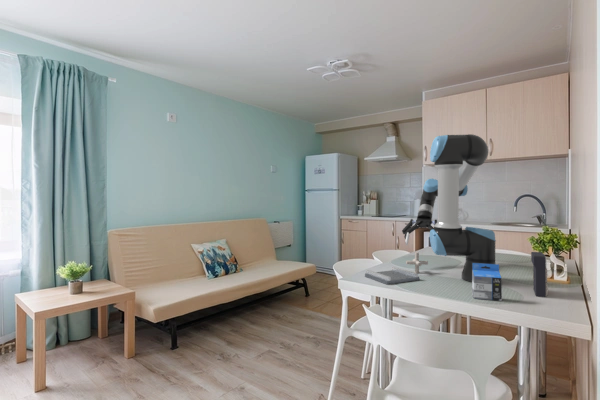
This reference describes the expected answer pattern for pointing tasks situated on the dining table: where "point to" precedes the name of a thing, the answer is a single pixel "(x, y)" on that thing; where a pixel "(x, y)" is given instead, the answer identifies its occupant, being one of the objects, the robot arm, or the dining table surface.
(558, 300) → the dining table surface
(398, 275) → the plate
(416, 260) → the pipe connector
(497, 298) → the ink cartridge box
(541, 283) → the calculator
